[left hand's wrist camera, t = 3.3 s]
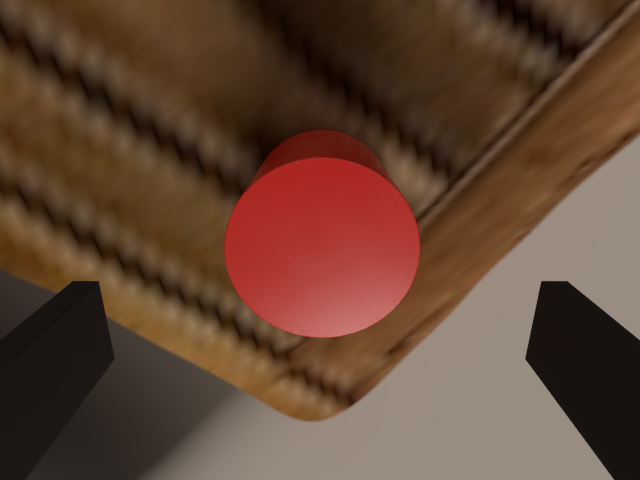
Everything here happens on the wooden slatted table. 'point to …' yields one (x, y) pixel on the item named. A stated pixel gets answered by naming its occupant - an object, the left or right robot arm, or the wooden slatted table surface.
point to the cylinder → (322, 237)
